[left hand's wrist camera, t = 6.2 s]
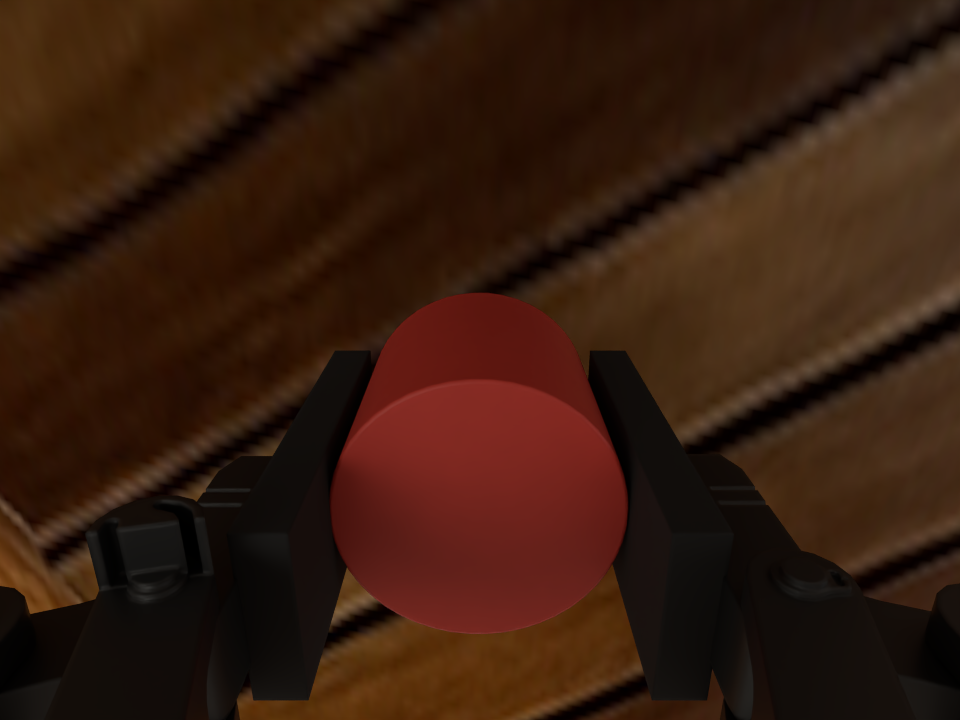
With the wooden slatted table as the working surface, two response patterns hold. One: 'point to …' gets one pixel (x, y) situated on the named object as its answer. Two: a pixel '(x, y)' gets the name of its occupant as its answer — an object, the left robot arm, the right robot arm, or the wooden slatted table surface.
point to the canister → (478, 471)
